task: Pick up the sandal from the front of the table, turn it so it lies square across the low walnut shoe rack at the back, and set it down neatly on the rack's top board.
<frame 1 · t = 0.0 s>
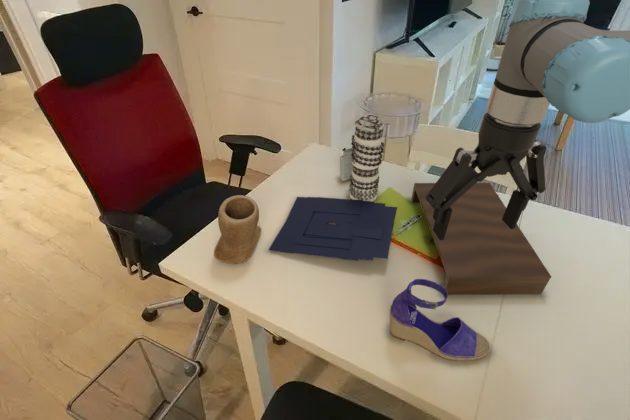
hand: (473, 229, 66), 24 cm above the table, tool pointing down, fingers open, 13 cm apart
decorative candle: (362, 195, 114), on the table
ink box: (355, 176, 123), on the table
sandal: (435, 340, 75), on the table
shoe rack: (466, 240, 98), on the table
stone cup: (242, 246, 97), on the table
papers: (335, 232, 101), on the table
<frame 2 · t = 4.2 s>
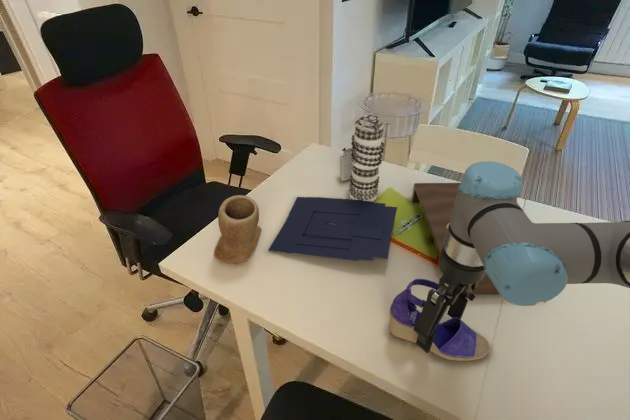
hand: (438, 331, 74), 3 cm above the table, tool pointing down, fingers closed on sandal, 10 cm apart
sandal: (435, 340, 75), on the table, touching gripper
everything else where it was.
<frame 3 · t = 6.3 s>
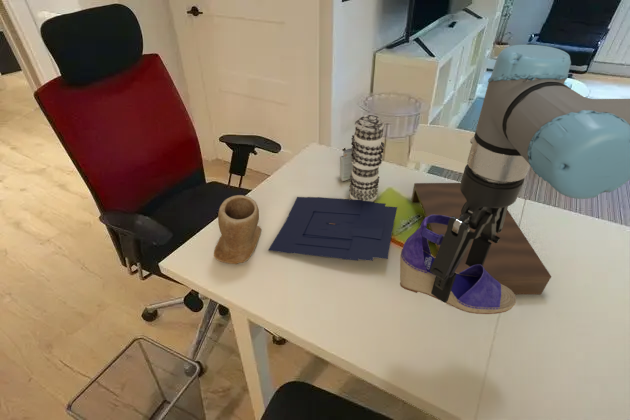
hand: (456, 281, 64), 18 cm above the table, tool pointing down, fingers closed on sandal, 10 cm apart
sandal: (452, 292, 65), point 15 cm above the table, touching gripper
everything else where it was.
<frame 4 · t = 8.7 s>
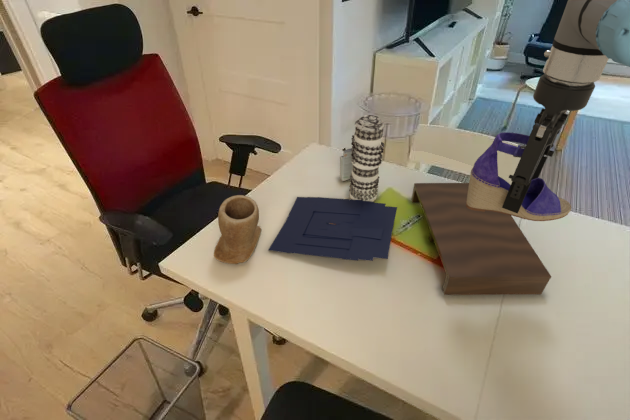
hand: (518, 196, 70), 26 cm above the table, tool pointing down, fingers closed on sandal, 10 cm apart
sandal: (513, 208, 72), point 23 cm above the table, touching gripper
everything else where it was.
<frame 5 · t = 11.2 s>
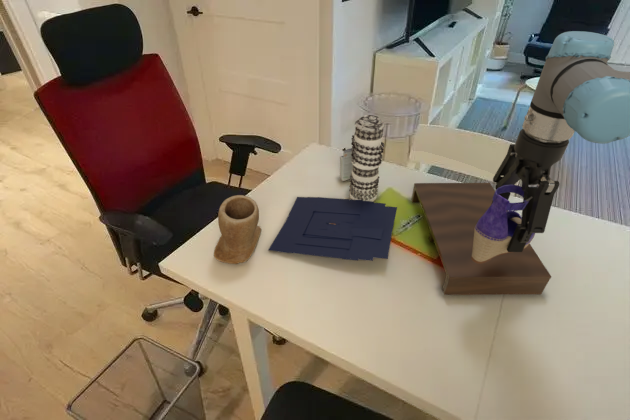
hand: (503, 232, 76), 16 cm above the table, tool pointing down, fingers closed on sandal, 10 cm apart
sandal: (500, 243, 78), point 13 cm above the table, touching gripper
everything else where it was.
when the fingers open (9 cm above the table, at t = 13.5 s): sandal stays where it is, resting on shoe rack.
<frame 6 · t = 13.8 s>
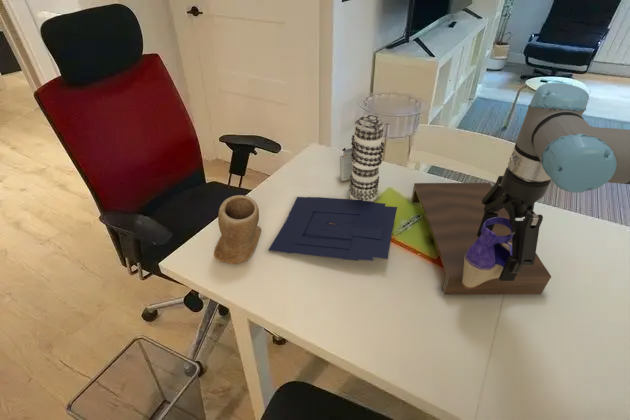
hand: (493, 256, 80), 9 cm above the table, tool pointing down, fingers open, 12 cm apart
sandal: (489, 268, 83), point 6 cm above the table, touching shoe rack
everything else where it was.
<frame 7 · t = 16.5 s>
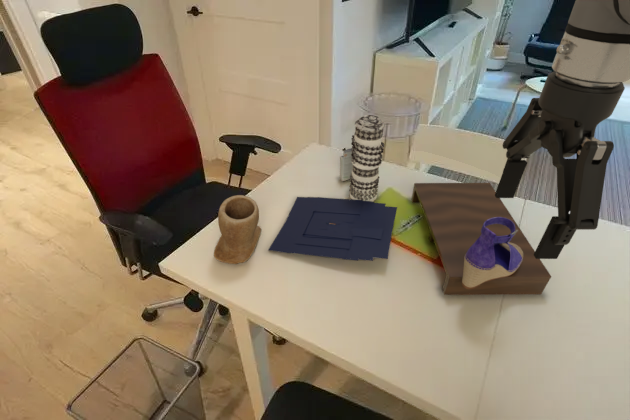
hand: (522, 224, 54), 32 cm above the table, tool pointing down, fingers open, 13 cm apart
nothing on the table moved.
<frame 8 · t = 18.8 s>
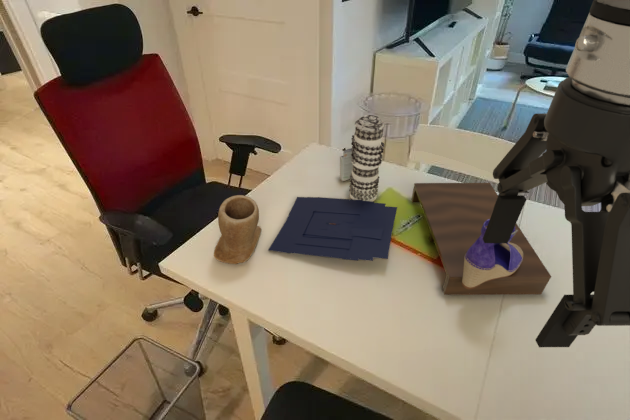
hand: (519, 285, 39), 37 cm above the table, tool pointing down, fingers open, 13 cm apart
nothing on the table moved.
at the end: sandal inside the target area on the shoe rack (2.1 cm from its centre), point 5.8 cm above the shoe rack's base; sandal tilted 0°; the gripper is holding nothing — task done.
